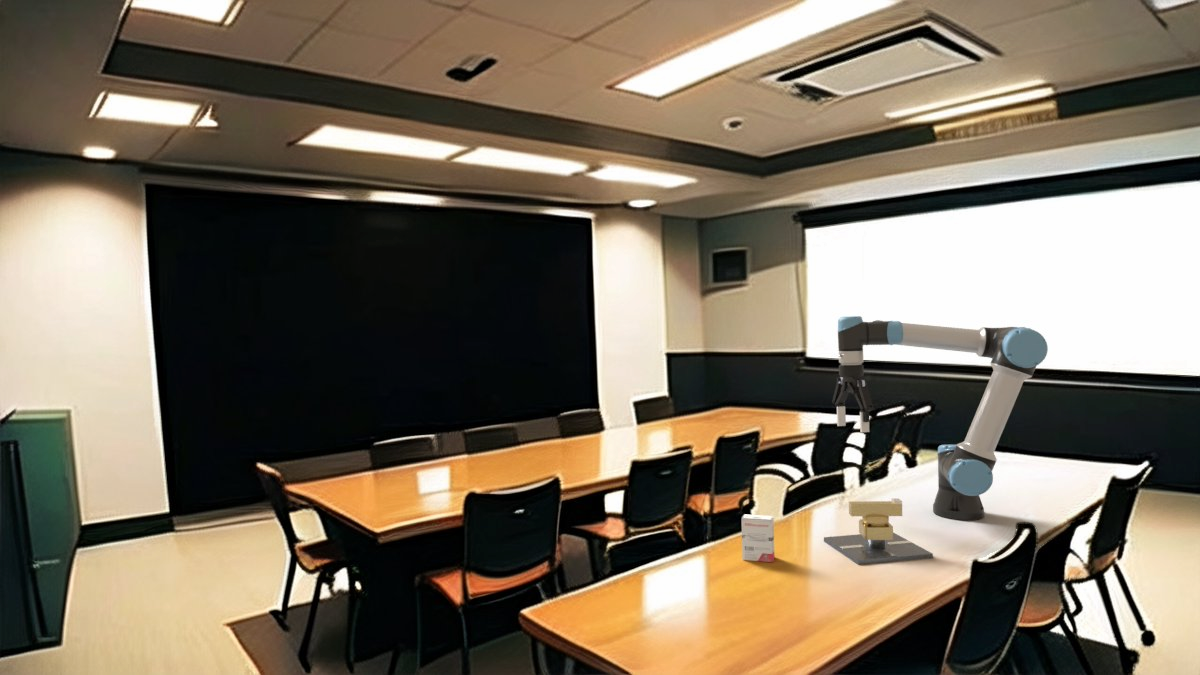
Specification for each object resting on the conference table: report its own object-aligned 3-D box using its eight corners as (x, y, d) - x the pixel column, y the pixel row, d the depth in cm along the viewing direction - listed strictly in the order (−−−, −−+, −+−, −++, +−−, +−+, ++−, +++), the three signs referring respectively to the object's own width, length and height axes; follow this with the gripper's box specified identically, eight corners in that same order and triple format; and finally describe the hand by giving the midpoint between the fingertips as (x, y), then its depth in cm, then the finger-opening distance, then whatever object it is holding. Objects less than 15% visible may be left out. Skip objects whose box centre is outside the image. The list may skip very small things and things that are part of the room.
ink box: (775, 556, 196) (774, 514, 196) (773, 562, 192) (772, 520, 191) (744, 554, 199) (743, 513, 199) (741, 560, 194) (740, 518, 194)
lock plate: (891, 535, 211) (891, 512, 211) (932, 557, 191) (932, 532, 191) (823, 541, 208) (823, 517, 208) (858, 564, 188) (857, 538, 188)
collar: (847, 531, 204) (846, 496, 204) (896, 531, 203) (895, 496, 202) (854, 539, 196) (853, 503, 196) (905, 539, 195) (905, 503, 195)
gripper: (820, 362, 237) (822, 424, 238) (862, 366, 212) (864, 435, 213) (840, 361, 238) (842, 422, 239) (884, 365, 214) (886, 434, 215)
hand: (852, 429), depth 226 cm, fingers open, 13 cm apart
